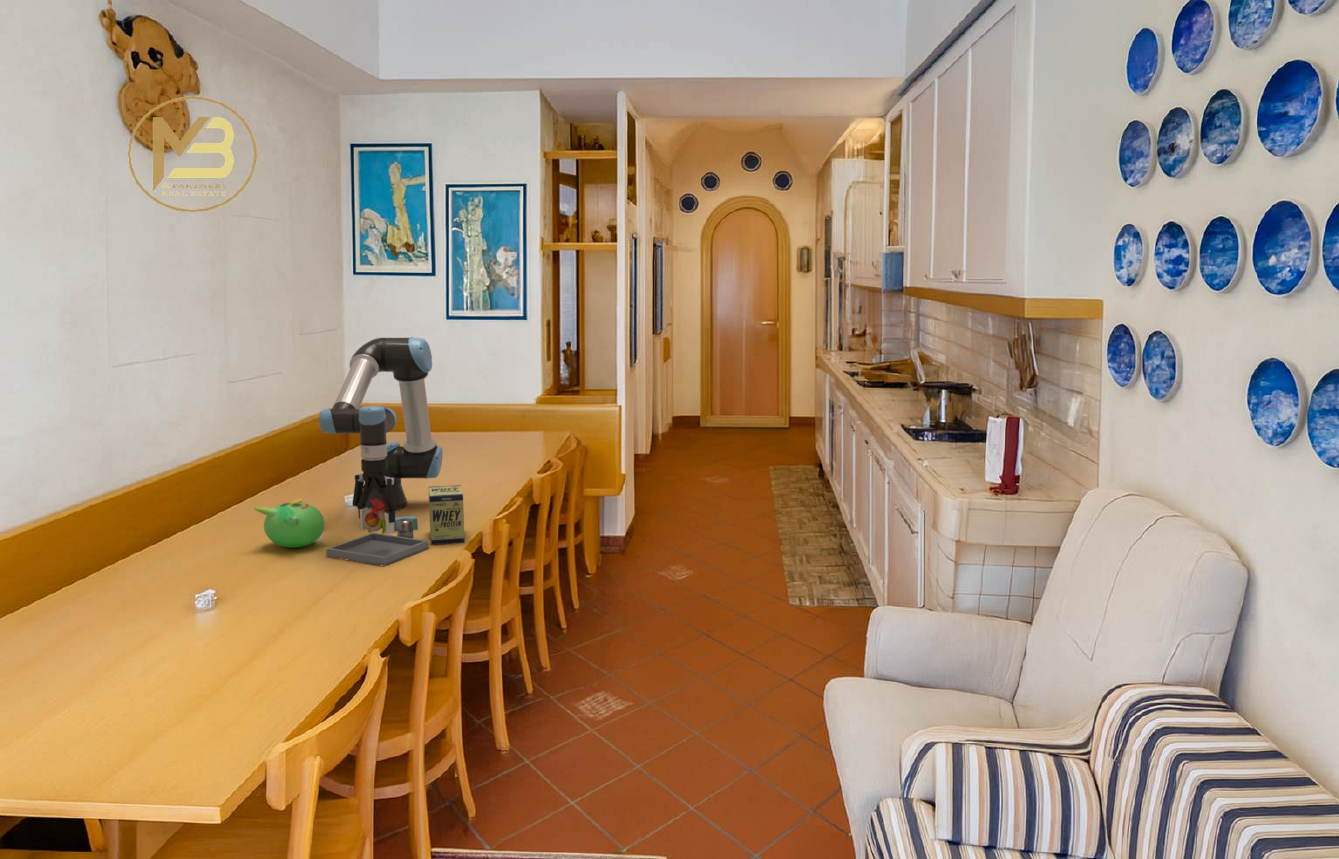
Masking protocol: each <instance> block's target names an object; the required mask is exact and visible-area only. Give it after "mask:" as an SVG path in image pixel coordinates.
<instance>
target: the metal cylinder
mask: <svg viewBox="0 0 1339 859" xmlns="http://www.w3.org/2000/svg"><path fill="white" fill-rule="evenodd" d="M396 536H399V537H406V538H414V539H415V537H414V530H413V520H412V519H399V520H397V532H396Z"/></svg>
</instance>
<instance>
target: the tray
mask: <svg viewBox="0 0 1339 859" xmlns="http://www.w3.org/2000/svg"><path fill="white" fill-rule="evenodd" d="M429 545H430V544H429V540H426V539H418V538H414V539H413V538H406V537H399V536H397V535H392V534H391V535H390V534H386V533H385V534H382V533H377V532H370V533H368V534H365V535H362V536H359V537H356V538H353V539H351V540H348V541H345V542H342V543H339V544H335V545H333V546H330V547H327V548H326V549H325V551H326V552H325V554H326V557H327V558H332V559H337V558H342V559H341V560H343V559H348V560H347V561H349V560H353V561H352V562H355V561H358V562H357V563H361V562H364V563H363V564H367V563H370V565H373V564H374V565H375V566H379V565H383V566H382V567H386V566H388V565H392V564H393V563H396V562H398V560H399V561H401V559H402V560H404V559H406V558H409V557H411V556H414V555H416V554H418V553H419V554H420V553H421V552H424V551H426V550H429V549H430V546H429ZM385 565H386V566H385Z"/></svg>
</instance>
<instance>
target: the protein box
mask: <svg viewBox="0 0 1339 859" xmlns="http://www.w3.org/2000/svg"><path fill="white" fill-rule="evenodd" d="M428 506H429V508H428V509H429V510H428V511H429V513H428V514H429V527H430V528H429V529H430V531H429V532H430V545H445V544H461V543H465V519H464V518H465V517H464V516H465V515H464V511H465V510H464V494H463V489H462V485H439V486H438V485H435V486H428Z"/></svg>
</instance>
